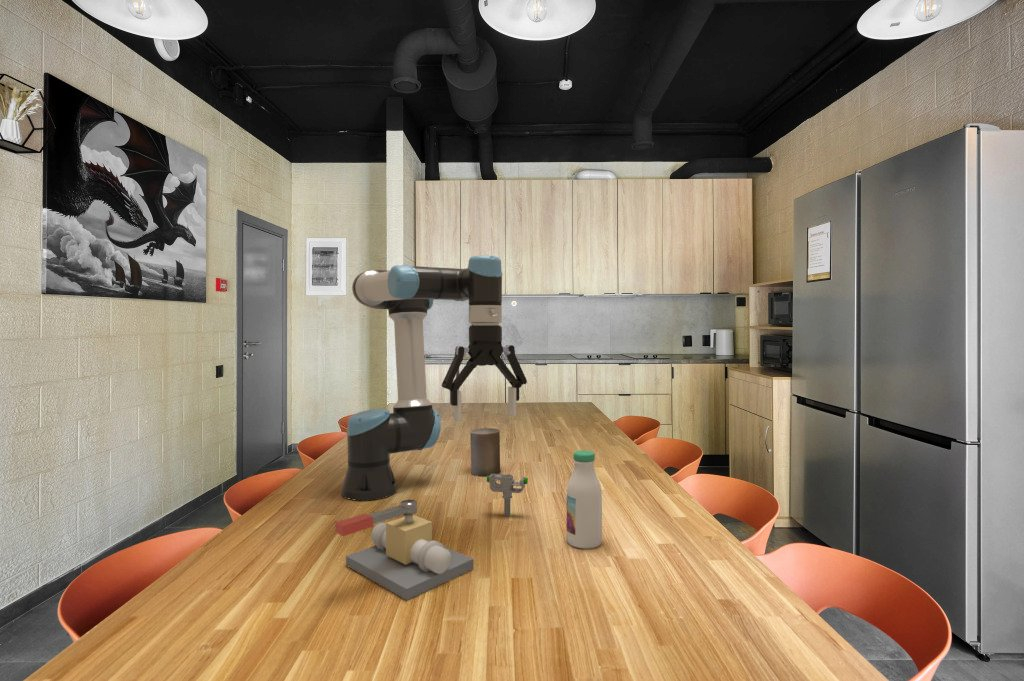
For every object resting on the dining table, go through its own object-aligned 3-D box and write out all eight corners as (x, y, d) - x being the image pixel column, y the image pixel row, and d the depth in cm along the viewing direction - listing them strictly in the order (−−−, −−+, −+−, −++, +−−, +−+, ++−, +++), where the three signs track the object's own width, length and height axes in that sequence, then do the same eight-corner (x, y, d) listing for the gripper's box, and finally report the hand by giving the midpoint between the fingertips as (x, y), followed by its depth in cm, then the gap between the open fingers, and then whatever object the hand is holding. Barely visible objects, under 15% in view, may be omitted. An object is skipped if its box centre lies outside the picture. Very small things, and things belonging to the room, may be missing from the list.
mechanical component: (526, 518, 131) (526, 478, 130) (486, 515, 133) (485, 476, 132) (528, 514, 134) (528, 475, 133) (489, 511, 136) (488, 473, 135)
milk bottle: (604, 537, 119) (604, 449, 118) (598, 551, 111) (598, 457, 111) (570, 533, 121) (570, 447, 121) (562, 547, 114) (562, 454, 113)
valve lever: (410, 508, 107) (410, 498, 107) (420, 512, 104) (420, 502, 104) (334, 532, 94) (334, 521, 94) (344, 537, 92) (343, 525, 92)
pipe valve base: (346, 565, 105) (345, 512, 105) (411, 541, 117) (410, 493, 117) (406, 600, 92) (406, 539, 92) (473, 568, 104) (473, 514, 104)
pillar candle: (506, 470, 174) (505, 425, 174) (489, 478, 166) (488, 430, 165) (482, 467, 179) (481, 423, 179) (464, 473, 171) (463, 427, 171)
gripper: (438, 324, 111) (439, 425, 112) (541, 324, 122) (541, 415, 123) (427, 324, 118) (428, 419, 118) (525, 324, 129) (526, 410, 130)
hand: (485, 417), depth 121 cm, fingers open, 13 cm apart
